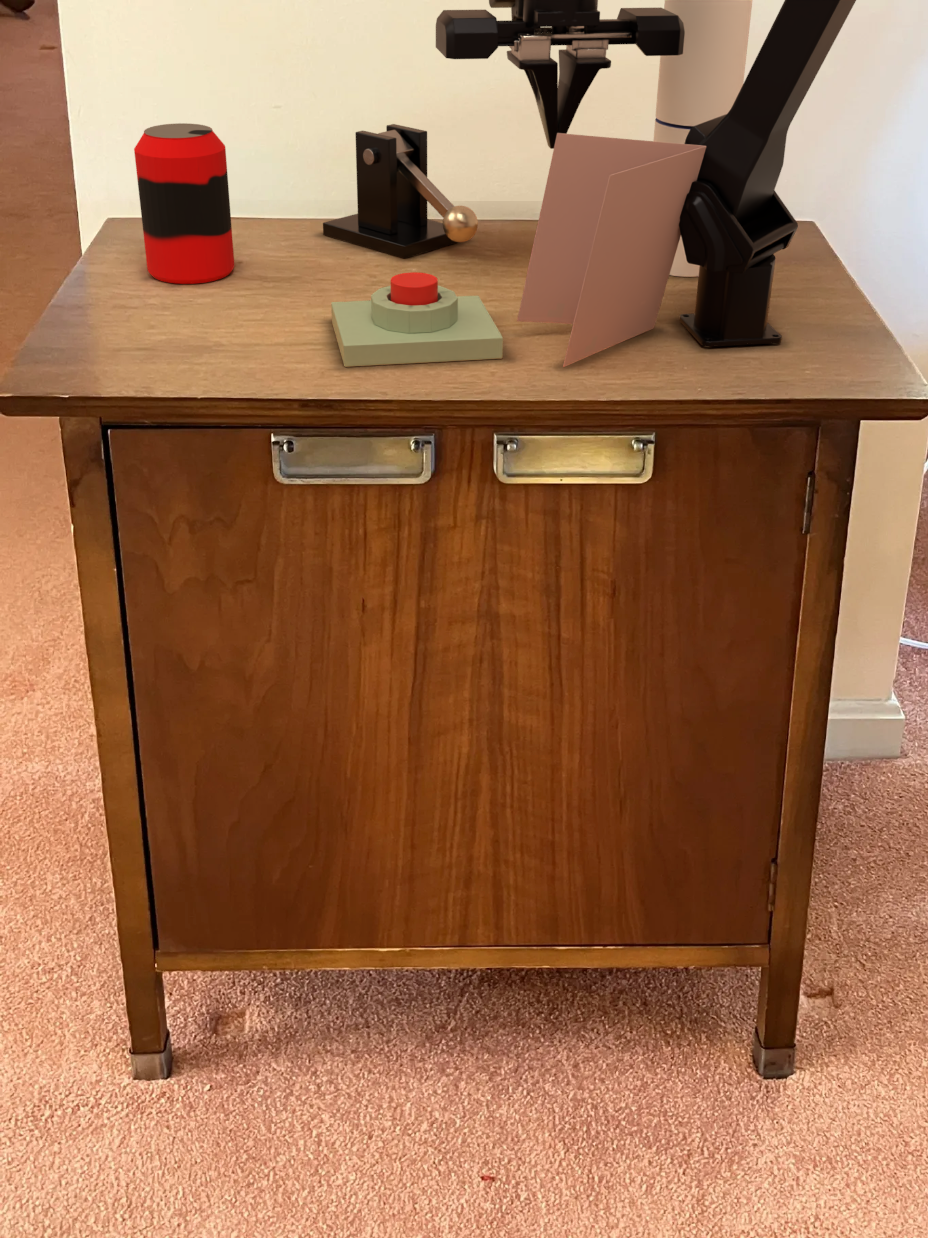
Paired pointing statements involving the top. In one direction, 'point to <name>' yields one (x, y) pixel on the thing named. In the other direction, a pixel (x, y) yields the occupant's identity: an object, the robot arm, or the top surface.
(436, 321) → the button housing
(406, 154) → the lever
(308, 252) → the top surface
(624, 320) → the greeting card
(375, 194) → the switch bracket
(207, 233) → the soda can
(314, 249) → the top surface
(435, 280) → the button
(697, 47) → the cylindrical container
